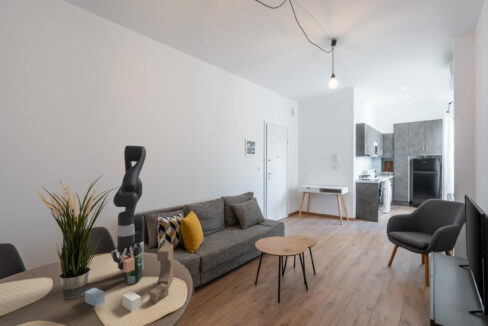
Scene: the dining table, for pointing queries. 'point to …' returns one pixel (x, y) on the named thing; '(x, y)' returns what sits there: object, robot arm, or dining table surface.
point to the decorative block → (165, 264)
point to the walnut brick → (158, 293)
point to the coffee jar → (137, 272)
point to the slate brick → (94, 297)
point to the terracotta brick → (128, 264)
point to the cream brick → (131, 301)
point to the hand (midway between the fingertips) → (125, 267)
